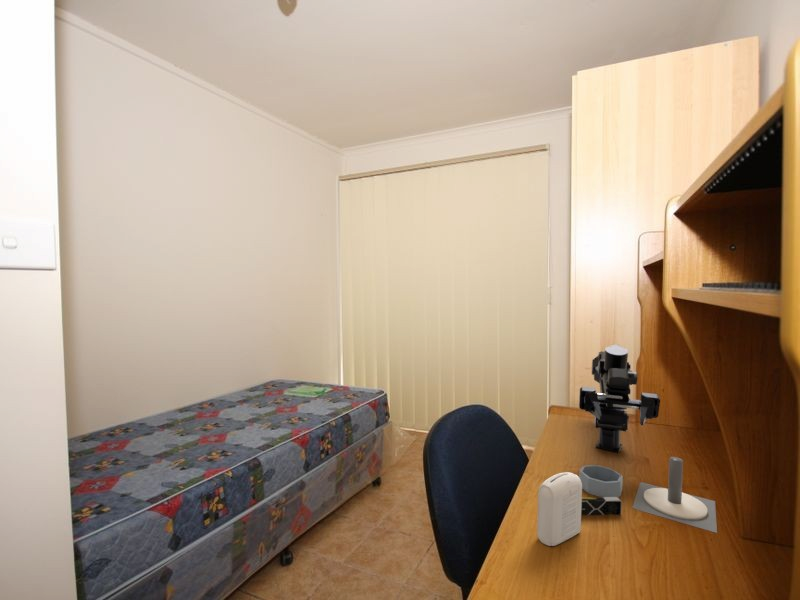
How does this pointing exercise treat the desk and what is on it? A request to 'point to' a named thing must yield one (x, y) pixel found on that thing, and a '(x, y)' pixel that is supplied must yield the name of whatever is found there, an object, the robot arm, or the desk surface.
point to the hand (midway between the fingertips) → (621, 421)
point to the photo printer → (559, 508)
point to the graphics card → (601, 506)
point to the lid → (675, 496)
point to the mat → (704, 523)
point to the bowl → (601, 481)
